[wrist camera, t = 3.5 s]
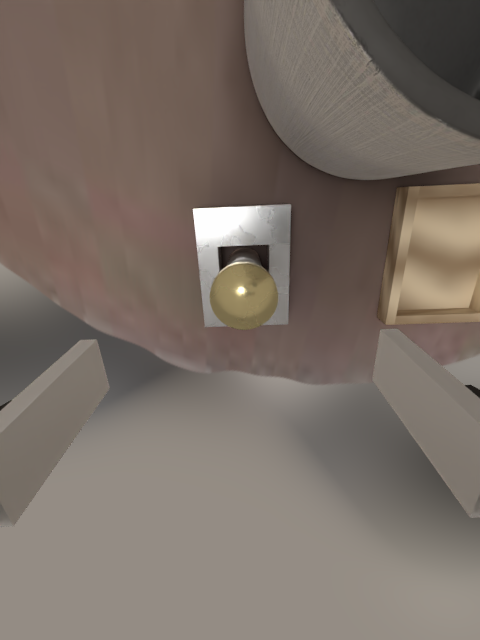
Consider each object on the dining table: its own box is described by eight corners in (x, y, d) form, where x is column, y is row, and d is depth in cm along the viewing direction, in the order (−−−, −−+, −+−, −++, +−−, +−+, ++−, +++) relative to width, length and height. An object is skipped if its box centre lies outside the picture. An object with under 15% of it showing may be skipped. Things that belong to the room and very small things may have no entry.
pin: (220, 241, 31) (206, 266, 20) (266, 239, 31) (278, 263, 20) (223, 285, 33) (212, 330, 22) (267, 284, 33) (278, 328, 22)
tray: (397, 187, 29) (409, 186, 27) (510, 181, 28) (532, 180, 26) (376, 316, 34) (385, 324, 32) (471, 313, 34) (486, 321, 32)
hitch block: (198, 207, 30) (193, 209, 27) (286, 203, 29) (291, 204, 26) (208, 314, 35) (205, 326, 31) (284, 312, 34) (288, 324, 31)
